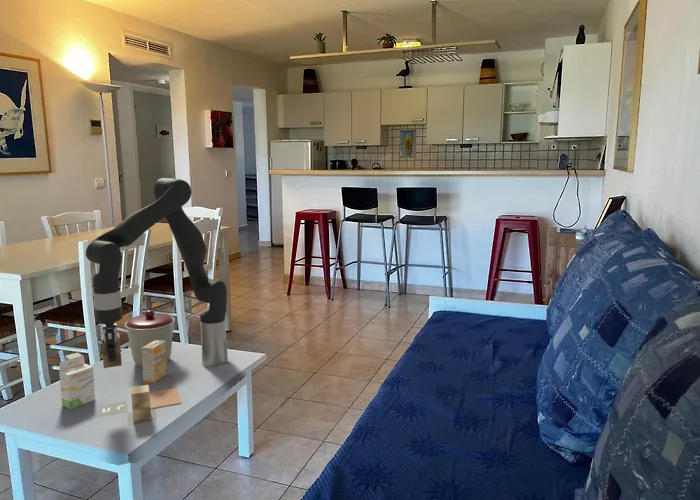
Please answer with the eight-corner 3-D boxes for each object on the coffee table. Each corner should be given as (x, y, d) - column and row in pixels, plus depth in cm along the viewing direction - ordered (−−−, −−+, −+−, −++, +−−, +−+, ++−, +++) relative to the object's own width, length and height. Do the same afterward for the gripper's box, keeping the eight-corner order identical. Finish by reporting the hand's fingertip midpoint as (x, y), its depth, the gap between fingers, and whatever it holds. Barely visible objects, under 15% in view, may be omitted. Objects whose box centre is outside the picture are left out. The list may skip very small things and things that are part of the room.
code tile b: (154, 408, 160) (154, 408, 160) (156, 420, 153) (156, 420, 153) (127, 413, 156) (127, 413, 156) (128, 425, 149) (128, 425, 149)
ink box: (70, 410, 158) (66, 366, 156) (61, 406, 161) (57, 362, 158) (96, 399, 165) (92, 357, 163) (87, 395, 168) (84, 354, 165)
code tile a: (126, 401, 164) (126, 400, 164) (127, 412, 157) (127, 411, 157) (99, 405, 161) (99, 405, 161) (98, 417, 154) (98, 417, 154)
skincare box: (88, 390, 172) (85, 356, 170) (74, 394, 169) (71, 360, 167) (81, 384, 176) (78, 351, 174) (67, 388, 173) (64, 355, 171)
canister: (164, 372, 187) (160, 318, 183) (117, 370, 188) (113, 316, 184) (184, 354, 204) (182, 304, 200) (142, 352, 206) (138, 302, 202)
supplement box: (155, 383, 178) (153, 348, 175) (143, 382, 178) (140, 347, 176) (168, 374, 185) (166, 340, 183) (156, 372, 186) (154, 339, 184)
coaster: (176, 388, 174) (176, 387, 174) (181, 403, 163) (181, 402, 163) (139, 395, 169) (139, 393, 169) (141, 411, 158) (141, 409, 158)
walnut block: (121, 359, 160) (119, 332, 159) (121, 365, 156) (119, 338, 154) (104, 362, 158) (101, 335, 157) (103, 368, 154) (101, 340, 152)
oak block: (150, 411, 158) (148, 384, 156) (151, 418, 153) (149, 391, 152) (132, 414, 156) (130, 387, 154) (133, 422, 151) (131, 394, 150)
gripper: (121, 310, 149) (125, 364, 152) (121, 298, 162) (125, 348, 165) (93, 313, 146) (98, 368, 149) (95, 300, 159) (99, 351, 162)
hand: (112, 357), depth 157 cm, fingers closed on walnut block, 5 cm apart
